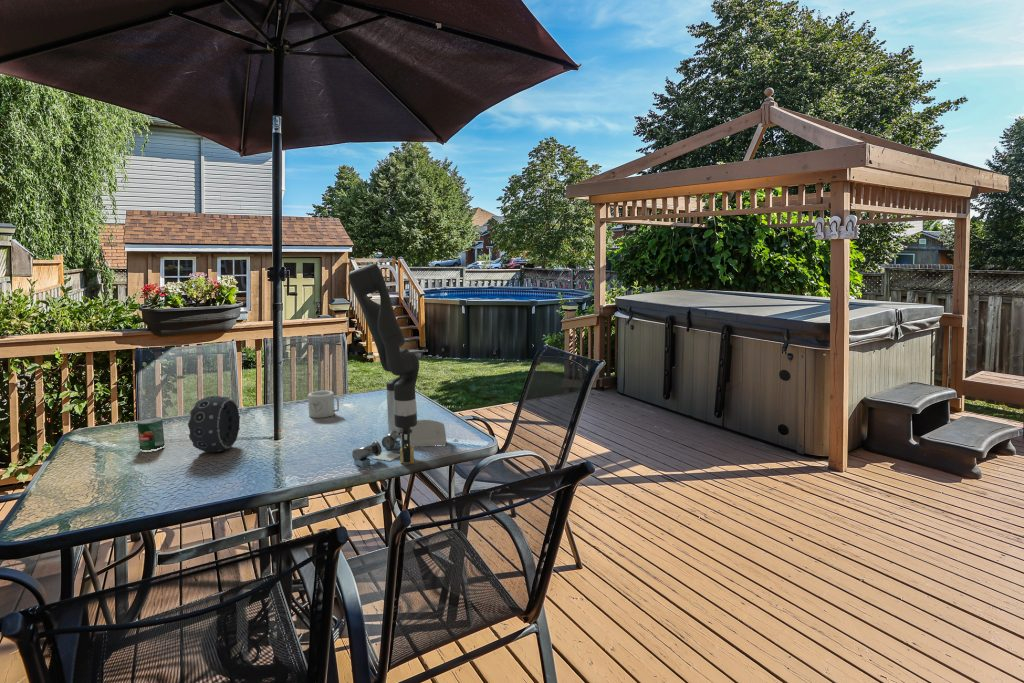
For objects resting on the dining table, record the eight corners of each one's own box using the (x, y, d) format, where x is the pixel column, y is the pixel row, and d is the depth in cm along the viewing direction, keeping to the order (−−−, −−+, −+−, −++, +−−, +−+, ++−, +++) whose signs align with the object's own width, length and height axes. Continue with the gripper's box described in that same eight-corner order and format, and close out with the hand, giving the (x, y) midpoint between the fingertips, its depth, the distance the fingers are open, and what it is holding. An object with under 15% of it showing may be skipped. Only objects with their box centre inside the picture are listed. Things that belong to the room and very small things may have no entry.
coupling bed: (382, 452, 210) (382, 451, 210) (401, 455, 207) (401, 454, 207) (371, 458, 204) (371, 457, 204) (390, 461, 201) (390, 460, 201)
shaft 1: (360, 468, 195) (359, 449, 194) (351, 465, 198) (350, 446, 197) (382, 461, 202) (381, 443, 201) (373, 458, 205) (372, 440, 204)
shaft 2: (387, 445, 218) (387, 428, 217) (400, 445, 218) (400, 428, 217) (382, 453, 209) (381, 436, 208) (395, 453, 209) (394, 436, 208)
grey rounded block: (400, 447, 215) (400, 420, 217) (401, 448, 220) (401, 421, 222) (446, 446, 217) (446, 418, 219) (447, 446, 221) (446, 419, 223)
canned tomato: (136, 453, 212) (132, 423, 211) (145, 446, 220) (142, 417, 218) (159, 452, 214) (156, 422, 212) (168, 445, 221) (165, 416, 220)
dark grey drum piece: (244, 441, 225) (239, 390, 222) (219, 459, 205) (214, 403, 202) (215, 442, 224) (210, 390, 221) (188, 460, 204) (182, 404, 202)
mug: (304, 418, 256) (303, 395, 255) (316, 411, 267) (315, 389, 265) (333, 419, 254) (332, 396, 252) (344, 412, 264) (343, 390, 263)
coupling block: (400, 459, 204) (400, 446, 203) (414, 458, 204) (413, 446, 204) (400, 464, 199) (399, 451, 198) (414, 463, 200) (413, 450, 199)
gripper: (395, 406, 205) (396, 451, 208) (393, 418, 192) (395, 466, 194) (416, 405, 207) (418, 450, 209) (416, 416, 193) (418, 464, 195)
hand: (407, 457), depth 201 cm, fingers open, 8 cm apart
